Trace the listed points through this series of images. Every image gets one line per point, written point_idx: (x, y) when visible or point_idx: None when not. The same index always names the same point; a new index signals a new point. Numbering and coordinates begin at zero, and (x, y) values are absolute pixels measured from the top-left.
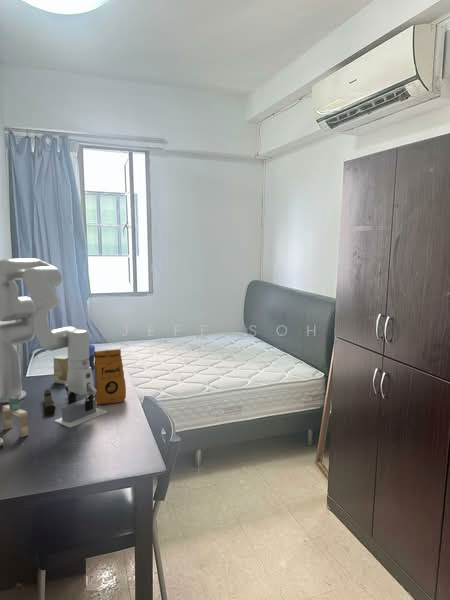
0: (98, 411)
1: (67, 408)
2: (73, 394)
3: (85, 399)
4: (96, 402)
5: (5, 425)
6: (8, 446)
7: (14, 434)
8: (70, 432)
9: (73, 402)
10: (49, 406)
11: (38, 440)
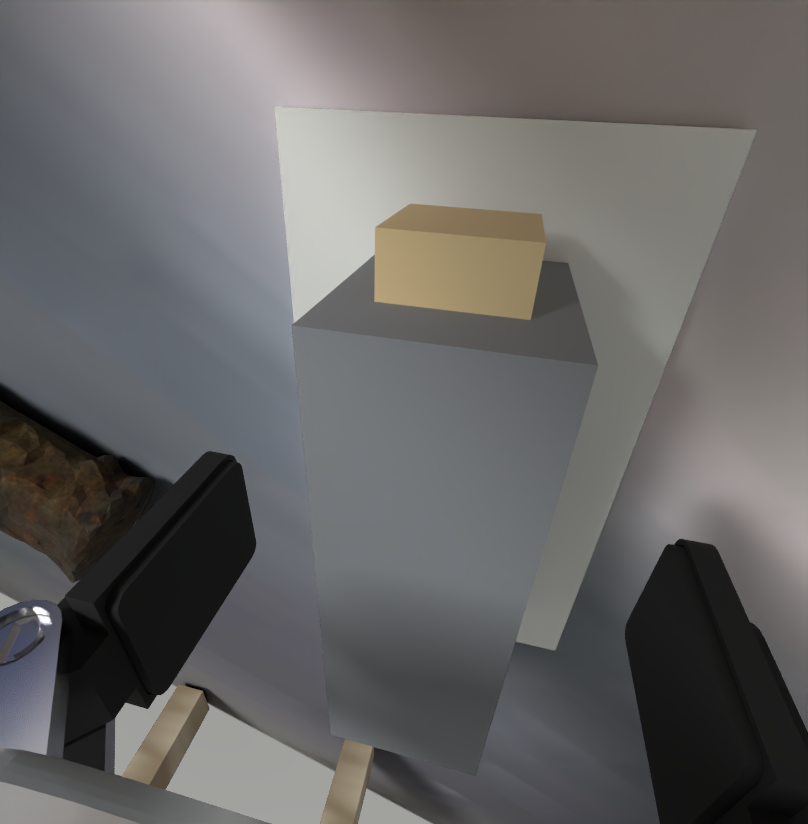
0: (601, 223)
1: (424, 753)
2: (120, 641)
3: (350, 460)
4: (545, 242)
5: (192, 736)
6: (404, 802)
7: (298, 730)
8: (624, 690)
9: (230, 520)
10: (85, 565)
11: (491, 768)
